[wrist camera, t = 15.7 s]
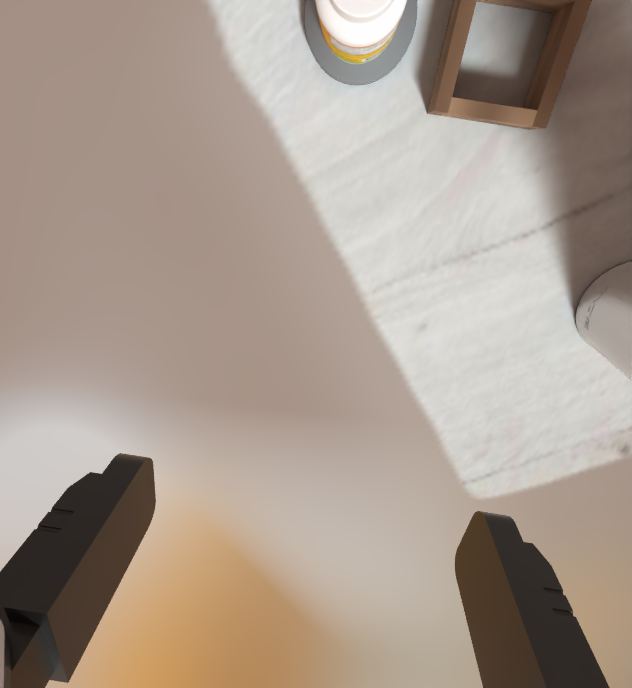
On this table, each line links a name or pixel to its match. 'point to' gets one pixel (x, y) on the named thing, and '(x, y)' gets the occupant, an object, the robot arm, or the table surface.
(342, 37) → the supplement bottle
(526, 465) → the table surface
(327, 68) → the rubber coaster
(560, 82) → the walnut collar
